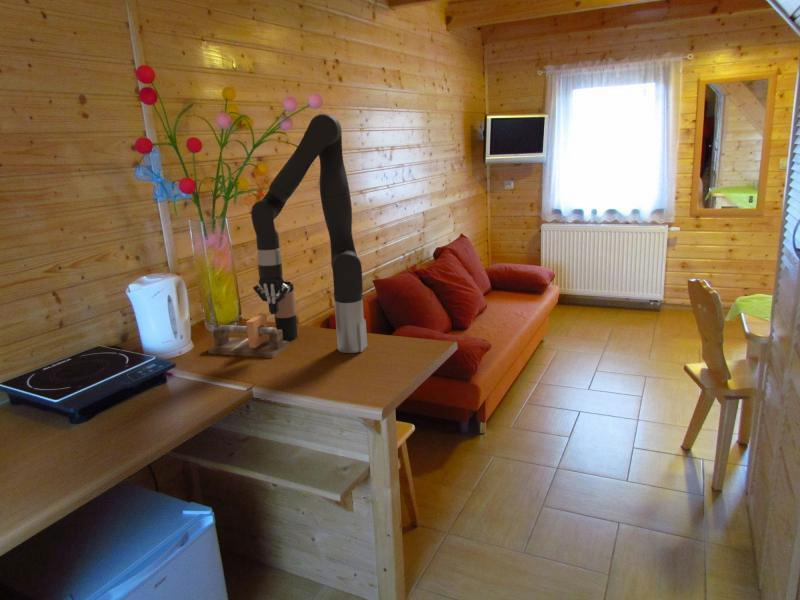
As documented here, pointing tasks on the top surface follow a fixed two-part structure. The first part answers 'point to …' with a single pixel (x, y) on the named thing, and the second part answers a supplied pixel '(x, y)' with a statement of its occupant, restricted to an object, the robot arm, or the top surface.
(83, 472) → the top surface
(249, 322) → the light wood square slab
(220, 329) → the rod stand
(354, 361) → the top surface
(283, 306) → the travel mug
